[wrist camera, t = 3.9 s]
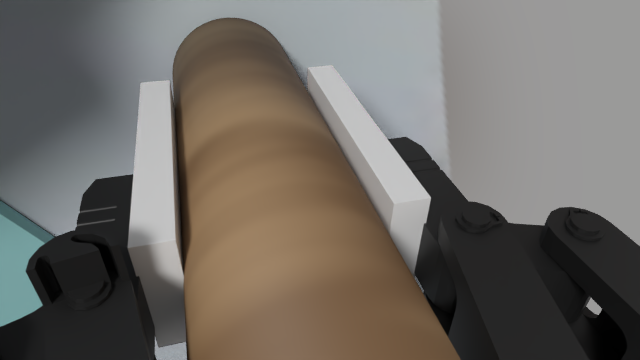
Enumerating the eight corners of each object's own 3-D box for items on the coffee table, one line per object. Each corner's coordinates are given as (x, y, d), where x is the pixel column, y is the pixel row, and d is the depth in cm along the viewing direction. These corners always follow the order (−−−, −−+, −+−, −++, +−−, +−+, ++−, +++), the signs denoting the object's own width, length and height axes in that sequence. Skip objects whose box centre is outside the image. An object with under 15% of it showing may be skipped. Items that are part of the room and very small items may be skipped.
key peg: (308, 87, 17) (553, 504, 7) (219, 145, 18) (311, 627, 7) (247, -8, 15) (482, 412, 4) (145, 62, 15) (109, 613, 4)
